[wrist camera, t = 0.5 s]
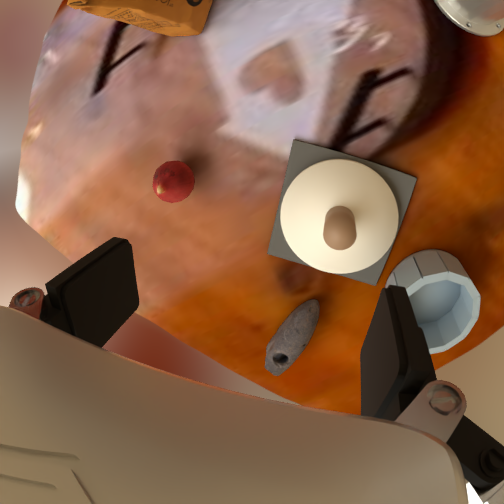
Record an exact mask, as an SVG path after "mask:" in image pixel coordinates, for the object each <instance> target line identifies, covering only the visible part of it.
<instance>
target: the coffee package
mask: <svg viewBox="0 0 504 504" xmlns="http://www.w3.org/2000/svg"><path fill="white" fill-rule="evenodd" d="M212 2H213V0H68V3H67V5H69V6H70V7H72V8H74V9H81V10H82V11H86V12H87V13H91V14H94V15H97V16H101V17H104V18H111V19H115V20H118V21H123V22H125V23H129V24H132V25H135V26H138V27H141V28H144V29H147V30H149V31H152V32H156V33H160V34H164V35H168V36H190V35H199V34H200V33H201V32H202V30H203V28H204V25H205V22H206V19H207V16H208V13H209V10H210V8H211V4H212Z"/></svg>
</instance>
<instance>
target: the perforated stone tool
mask: <svg viewBox="0 0 504 504" xmlns="http://www.w3.org/2000/svg"><path fill="white" fill-rule="evenodd" d="M319 310H320V307H319V302H318V300H316V299H312V300H309V301H306V302H304V303H303V304H301V305H300V306H298V307H297V308H296V309H295V310H294V311H293V312H292V313H291V314H290V315H289V316H288V317H287V319H286V320H285V321H284V322H283V323H282V325H281V326H280V327H279V329H278V330H277V333H276V334H275V335H274V336H273V337H272V339H271V340H270V342H269V343H268V345H267V348H266V350H267V352H266V353H267V355H266V359H265V368H266V369H267V370H268V371H270V372H271V373H272V374H273V375H276V376H279V375H280V374H282V373H283V372H284V371H285V370H287V369H288V368H289V367H290V366H291V365H292V364H293V363H294V361H295V360H296V359H297V358H298V357H299V355H300V354H301V353H302V351H303V350H304V349H305V347H306V346H307V344H308V342H309V340H310V339H311V337H312V335H313V332H314V330H315V327H316V324H317V322H318V318H319Z"/></svg>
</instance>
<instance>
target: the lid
mask: <svg viewBox="0 0 504 504" xmlns="http://www.w3.org/2000/svg"><path fill="white" fill-rule="evenodd" d="M398 217H399V216H398V207H397V203H396V200H395V197H394V195H393V193H392V191H391V189H390V187H389V186H388V184H387V183H386V182H385V180H384V179H383V178H382V177H381V176H380V175H379V174H378V173H377V172H375V171H374V170H373V169H371V168H370V167H368V166H366V165H364V164H362V163H359V162H357V161H353V160H349V159H329V160H324V161H321V162H318V163H315V164H313V165H311V166H309V167H308V168H306V169H305V170H303V171H302V172H301V173H300V174H299V175H298V176H297V177H296V178H295V179H294V180H293V181H292V183H291V184H290V186H289V188H288V189H287V191H286V193H285V195H284V198H283V201H282V205H281V215H280V219H281V227H282V231H283V234H284V237H285V239H286V241H287V243H288V245H289V246H290V248H291V249H292V250H293V252H294V253H295V254H296V255H297V256H298V257H299V258H300V259H301V260H303V261H304V262H305V263H307V264H308V265H310V266H312V267H314V268H316V269H319V270H321V271H325V272H329V273H336V274H345V273H352V272H356V271H360V270H362V269H365V268H367V267H369V266H371V265H373V264H374V263H375V262H377V261H378V260H379V259H380V258H381V257H383V255H384V254H385V253H386V252H387V251H388V249H389V248H390V246H391V245H392V243H393V241H394V238H395V236H396V232H397V228H398Z"/></svg>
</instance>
